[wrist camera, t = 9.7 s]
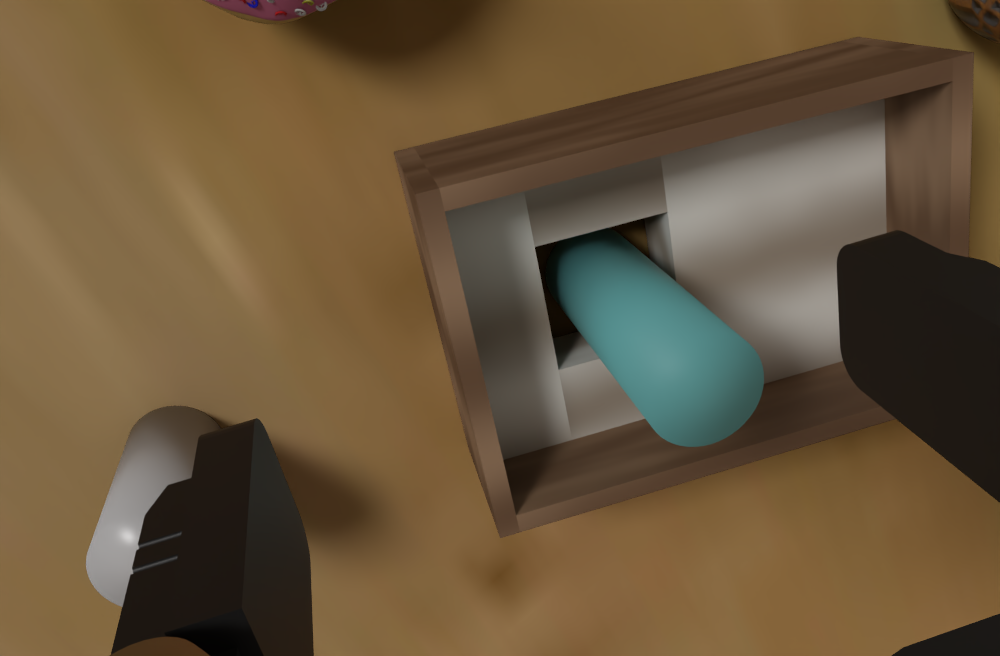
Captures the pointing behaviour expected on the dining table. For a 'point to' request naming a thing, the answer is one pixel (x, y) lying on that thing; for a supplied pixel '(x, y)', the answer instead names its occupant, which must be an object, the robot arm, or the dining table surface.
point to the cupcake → (270, 9)
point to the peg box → (682, 253)
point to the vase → (980, 16)
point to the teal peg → (656, 339)
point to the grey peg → (141, 490)
